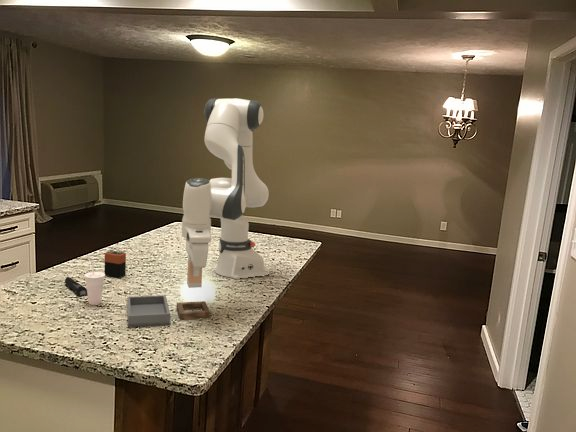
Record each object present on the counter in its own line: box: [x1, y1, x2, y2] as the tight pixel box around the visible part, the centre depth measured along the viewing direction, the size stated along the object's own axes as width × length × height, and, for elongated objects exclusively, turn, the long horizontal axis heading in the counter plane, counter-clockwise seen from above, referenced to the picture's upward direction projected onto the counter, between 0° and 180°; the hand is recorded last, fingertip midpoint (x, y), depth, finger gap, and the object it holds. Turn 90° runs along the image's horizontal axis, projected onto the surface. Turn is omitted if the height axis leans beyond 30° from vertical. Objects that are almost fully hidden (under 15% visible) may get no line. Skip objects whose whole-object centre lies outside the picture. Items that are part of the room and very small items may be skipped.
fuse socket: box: [176, 300, 211, 321], centre depth 156 cm, size 9×9×2 cm
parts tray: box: [126, 294, 171, 328], centre depth 152 cm, size 12×16×4 cm
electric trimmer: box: [64, 276, 88, 298], centre depth 169 cm, size 4×16×3 cm, turn 42°
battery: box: [104, 249, 127, 279], centre depth 186 cm, size 4×7×10 cm, turn 76°
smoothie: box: [83, 261, 106, 306], centre depth 157 cm, size 6×6×14 cm
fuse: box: [186, 253, 203, 289], centre depth 154 cm, size 4×4×10 cm
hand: (194, 272), depth 154 cm, fingers closed on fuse, 4 cm apart
